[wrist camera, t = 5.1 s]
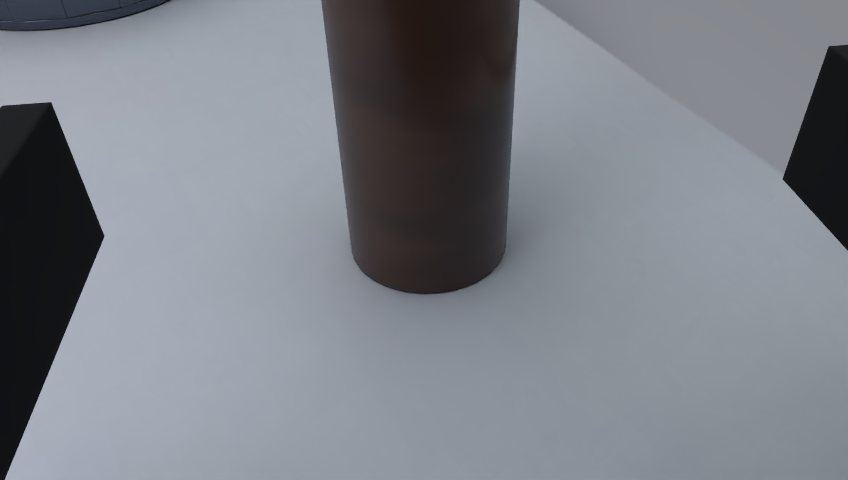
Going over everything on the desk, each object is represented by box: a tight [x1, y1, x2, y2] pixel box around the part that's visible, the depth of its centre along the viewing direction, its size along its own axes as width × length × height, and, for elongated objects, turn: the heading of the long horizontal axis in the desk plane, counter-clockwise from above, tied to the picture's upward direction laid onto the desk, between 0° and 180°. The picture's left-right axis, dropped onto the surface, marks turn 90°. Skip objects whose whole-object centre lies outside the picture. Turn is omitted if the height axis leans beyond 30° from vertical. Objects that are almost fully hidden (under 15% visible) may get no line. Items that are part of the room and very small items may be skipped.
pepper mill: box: [321, 0, 520, 293], centre depth 18 cm, size 5×5×14 cm
